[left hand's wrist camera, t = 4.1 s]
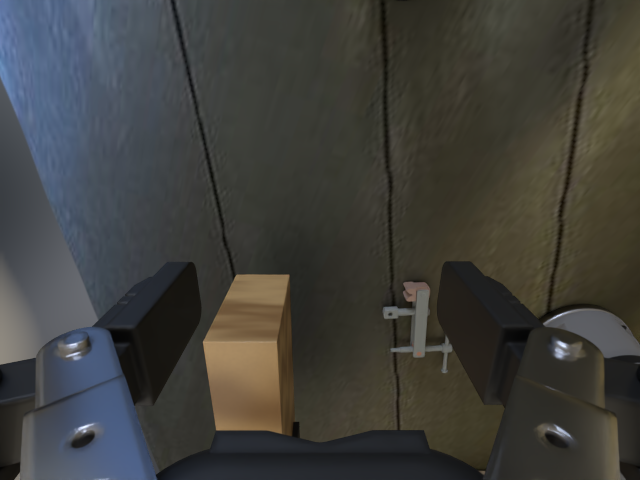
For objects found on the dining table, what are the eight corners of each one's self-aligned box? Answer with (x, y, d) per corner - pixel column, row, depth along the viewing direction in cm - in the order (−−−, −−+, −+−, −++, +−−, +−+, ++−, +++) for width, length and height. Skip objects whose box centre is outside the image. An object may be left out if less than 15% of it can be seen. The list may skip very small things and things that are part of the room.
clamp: (385, 290, 45) (461, 287, 45) (382, 282, 47) (455, 279, 47) (383, 379, 51) (451, 376, 51) (380, 368, 53) (446, 365, 53)
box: (236, 274, 38) (202, 342, 27) (289, 274, 38) (277, 342, 27) (252, 433, 47) (231, 532, 36) (295, 434, 47) (287, 533, 36)
